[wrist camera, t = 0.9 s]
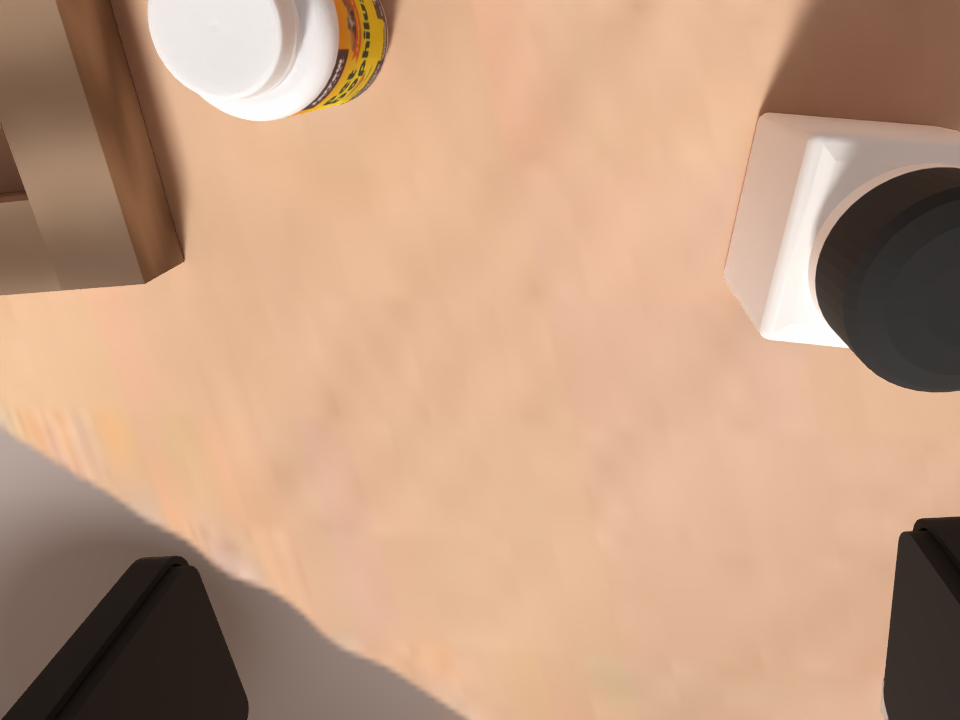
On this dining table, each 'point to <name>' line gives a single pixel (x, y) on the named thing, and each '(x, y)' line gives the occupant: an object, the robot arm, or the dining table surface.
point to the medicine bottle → (854, 243)
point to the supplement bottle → (271, 51)
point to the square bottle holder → (76, 155)
